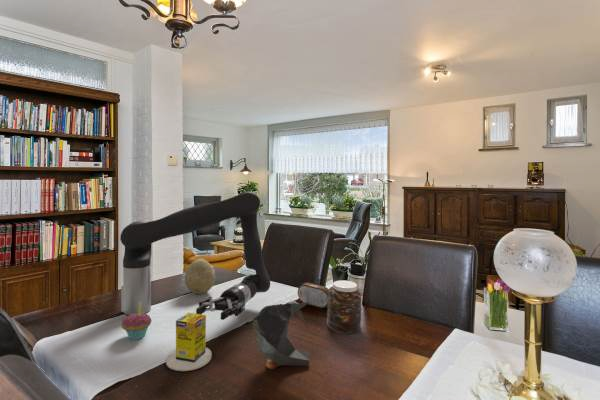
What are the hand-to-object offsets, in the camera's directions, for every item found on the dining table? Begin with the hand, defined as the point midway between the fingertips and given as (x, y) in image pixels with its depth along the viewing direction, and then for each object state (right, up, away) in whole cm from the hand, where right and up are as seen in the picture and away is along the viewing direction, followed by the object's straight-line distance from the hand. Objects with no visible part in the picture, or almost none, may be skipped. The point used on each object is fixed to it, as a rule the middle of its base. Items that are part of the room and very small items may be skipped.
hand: (209, 314), depth 104 cm
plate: (-3, -10, -9) cm, 13 cm away
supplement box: (-3, -9, -9) cm, 13 cm away
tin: (+33, -8, +34) cm, 48 cm away
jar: (+43, -9, +15) cm, 46 cm away
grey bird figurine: (+22, -11, -9) cm, 26 cm away
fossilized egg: (-16, -6, +45) cm, 48 cm away
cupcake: (-24, -9, +4) cm, 26 cm away
